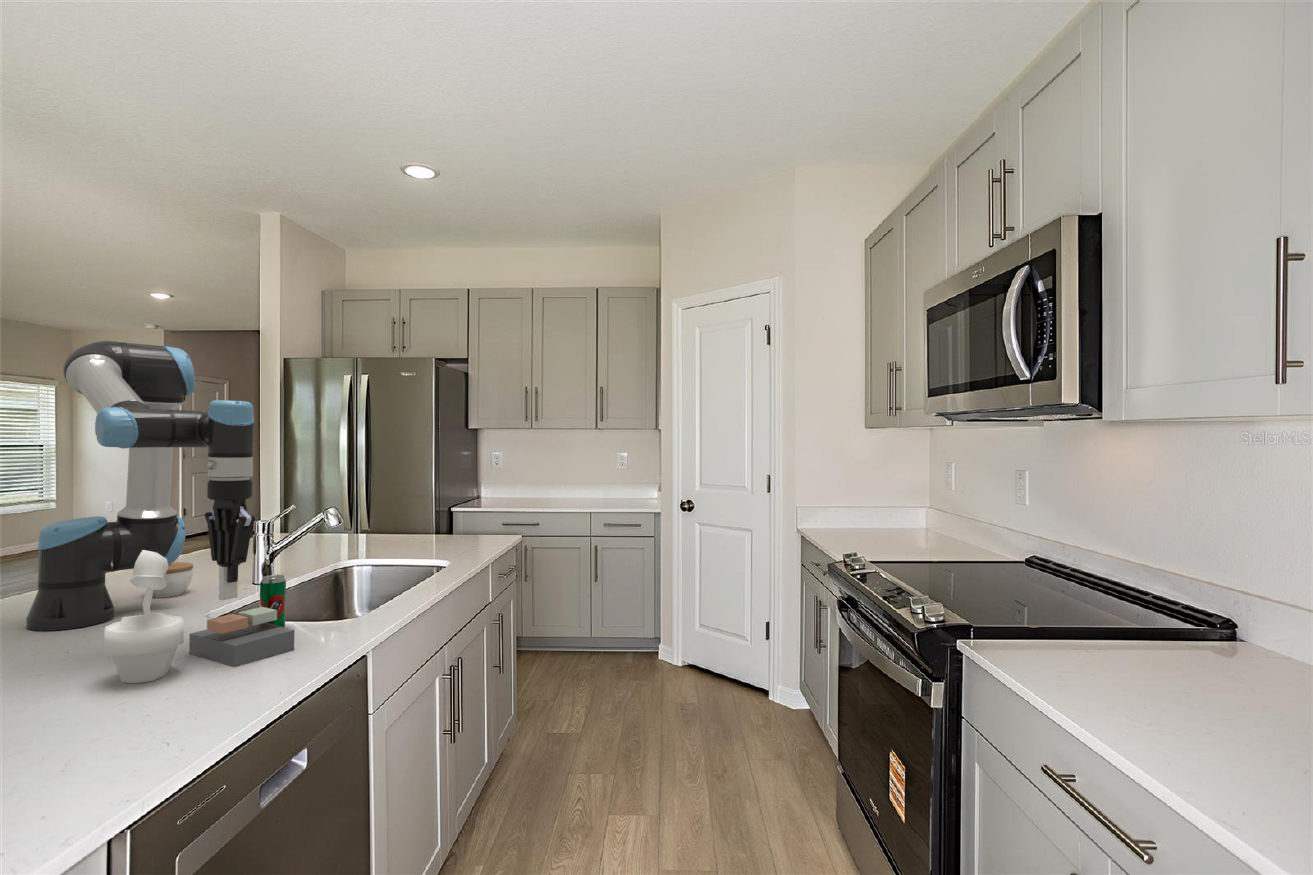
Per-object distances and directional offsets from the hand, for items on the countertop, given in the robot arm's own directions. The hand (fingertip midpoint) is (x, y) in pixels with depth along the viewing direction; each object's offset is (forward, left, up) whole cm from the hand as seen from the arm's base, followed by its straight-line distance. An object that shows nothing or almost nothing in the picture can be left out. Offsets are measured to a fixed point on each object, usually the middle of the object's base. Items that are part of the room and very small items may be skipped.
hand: (228, 598), depth 133 cm
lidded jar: (-63, +21, -12) cm, 67 cm away
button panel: (0, +3, -11) cm, 12 cm away
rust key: (0, 0, -6) cm, 6 cm away
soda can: (-9, +15, -12) cm, 21 cm away
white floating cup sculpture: (0, -15, -12) cm, 19 cm away
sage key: (0, +6, -6) cm, 8 cm away
